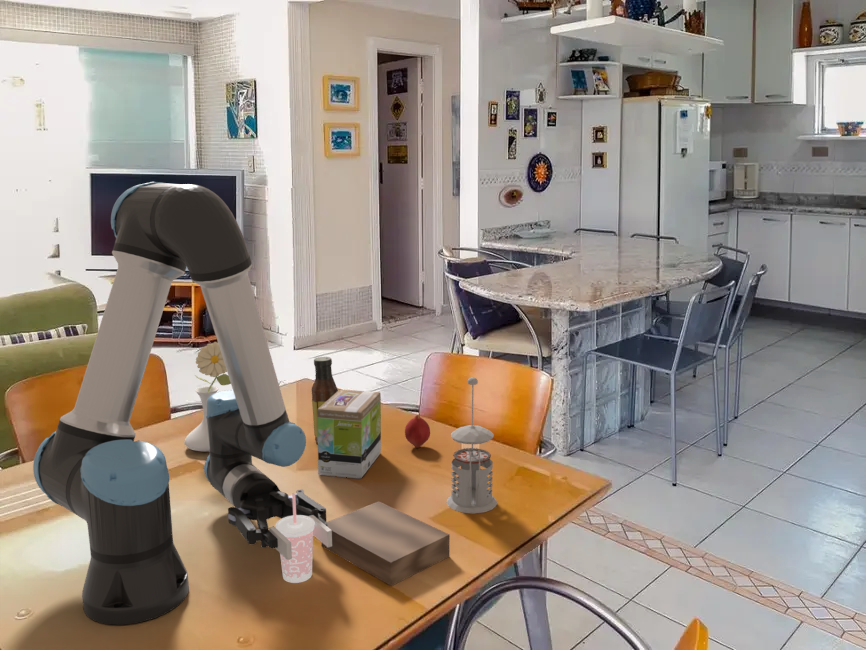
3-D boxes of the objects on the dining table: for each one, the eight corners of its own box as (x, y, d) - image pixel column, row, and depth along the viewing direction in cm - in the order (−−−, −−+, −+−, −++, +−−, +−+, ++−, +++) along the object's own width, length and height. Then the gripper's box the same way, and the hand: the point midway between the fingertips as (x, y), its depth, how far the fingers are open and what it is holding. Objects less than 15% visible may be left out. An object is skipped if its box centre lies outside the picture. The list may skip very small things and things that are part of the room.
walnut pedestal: (391, 585, 124) (390, 562, 123) (321, 546, 136) (320, 524, 135) (449, 556, 132) (449, 534, 132) (379, 521, 145) (378, 501, 144)
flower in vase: (174, 453, 178) (166, 345, 173) (203, 436, 189) (195, 333, 183) (225, 459, 174) (218, 349, 169) (251, 441, 185) (246, 337, 180)
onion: (400, 445, 183) (400, 411, 181) (423, 441, 185) (423, 408, 183) (410, 453, 177) (410, 419, 176) (434, 449, 180) (434, 415, 178)
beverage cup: (271, 582, 125) (267, 500, 122) (287, 563, 130) (283, 484, 127) (307, 587, 123) (304, 504, 120) (322, 567, 129) (319, 487, 126)
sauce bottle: (346, 439, 186) (344, 357, 182) (329, 447, 181) (326, 363, 177) (325, 434, 190) (322, 353, 186) (307, 442, 185) (304, 359, 180)
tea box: (363, 480, 164) (361, 411, 160) (317, 476, 165) (314, 408, 162) (382, 453, 178) (381, 390, 175) (339, 450, 180) (337, 387, 177)
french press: (494, 490, 158) (496, 369, 153) (501, 517, 147) (503, 387, 141) (445, 491, 158) (445, 370, 152) (448, 518, 146) (448, 388, 141)
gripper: (302, 499, 146) (364, 549, 127) (199, 526, 135) (251, 586, 117) (300, 460, 144) (363, 506, 126) (196, 485, 134) (249, 539, 115)
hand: (309, 544), depth 121 cm, fingers closed on beverage cup, 6 cm apart
